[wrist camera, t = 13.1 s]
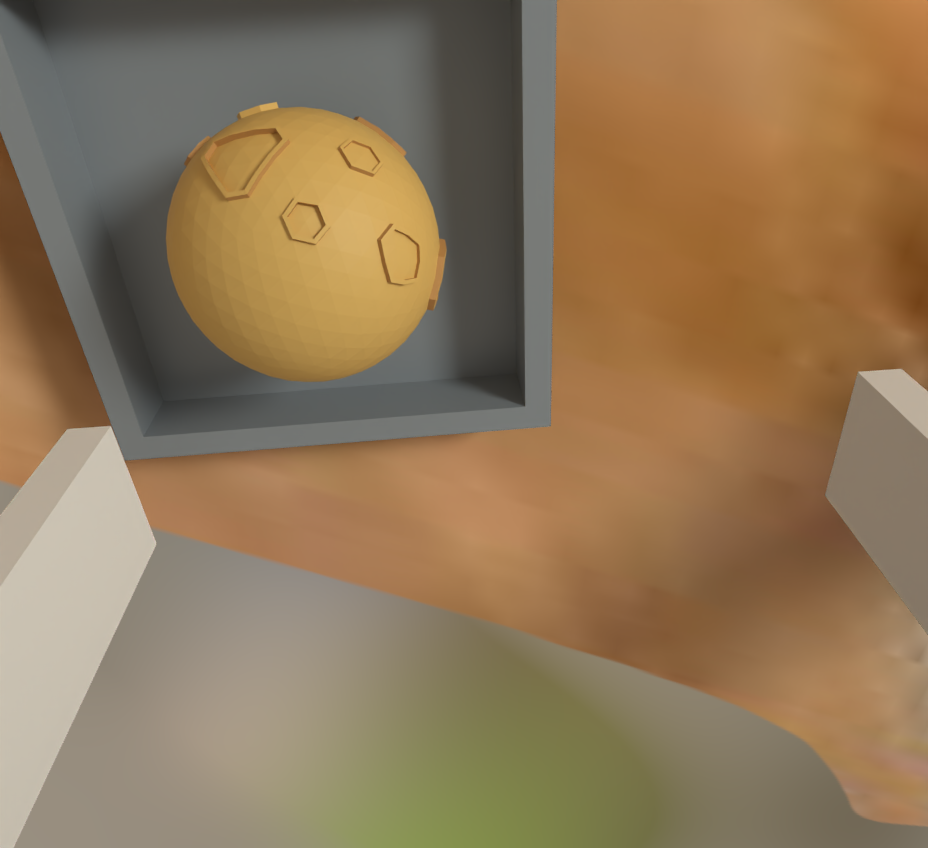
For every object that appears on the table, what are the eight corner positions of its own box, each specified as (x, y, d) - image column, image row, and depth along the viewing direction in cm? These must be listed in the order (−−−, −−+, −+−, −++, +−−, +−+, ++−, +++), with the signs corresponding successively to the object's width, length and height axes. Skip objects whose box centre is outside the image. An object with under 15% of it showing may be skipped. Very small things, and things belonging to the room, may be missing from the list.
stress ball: (320, 328, 35) (488, 372, 30) (130, 378, 28) (309, 449, 22) (309, 105, 31) (501, 110, 26) (86, 94, 24) (290, 99, 19)
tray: (539, -85, 27) (557, -92, 23) (537, 384, 38) (550, 426, 34) (-8, -51, 26) (-70, -53, 23) (150, 415, 37) (125, 460, 34)
